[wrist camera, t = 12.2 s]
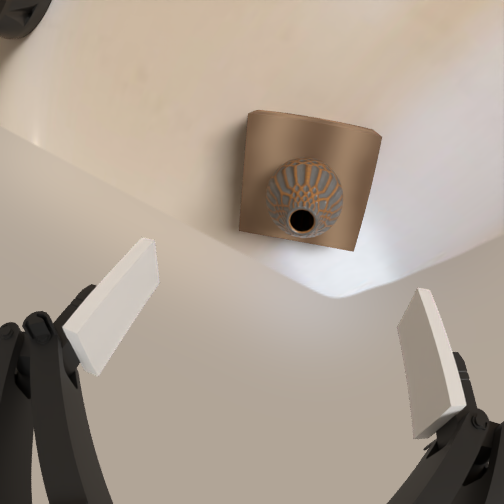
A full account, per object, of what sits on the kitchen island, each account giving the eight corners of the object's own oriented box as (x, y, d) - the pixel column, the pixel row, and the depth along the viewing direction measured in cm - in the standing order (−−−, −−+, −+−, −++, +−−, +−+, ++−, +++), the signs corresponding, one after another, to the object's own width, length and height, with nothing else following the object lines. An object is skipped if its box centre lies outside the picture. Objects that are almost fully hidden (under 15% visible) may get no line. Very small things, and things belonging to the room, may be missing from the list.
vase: (270, 211, 31) (255, 256, 24) (272, 148, 28) (256, 172, 20) (336, 218, 30) (340, 265, 23) (343, 154, 26) (354, 182, 19)
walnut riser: (248, 212, 37) (238, 230, 33) (257, 109, 30) (248, 113, 26) (349, 230, 36) (353, 251, 32) (372, 129, 29) (382, 136, 25)
